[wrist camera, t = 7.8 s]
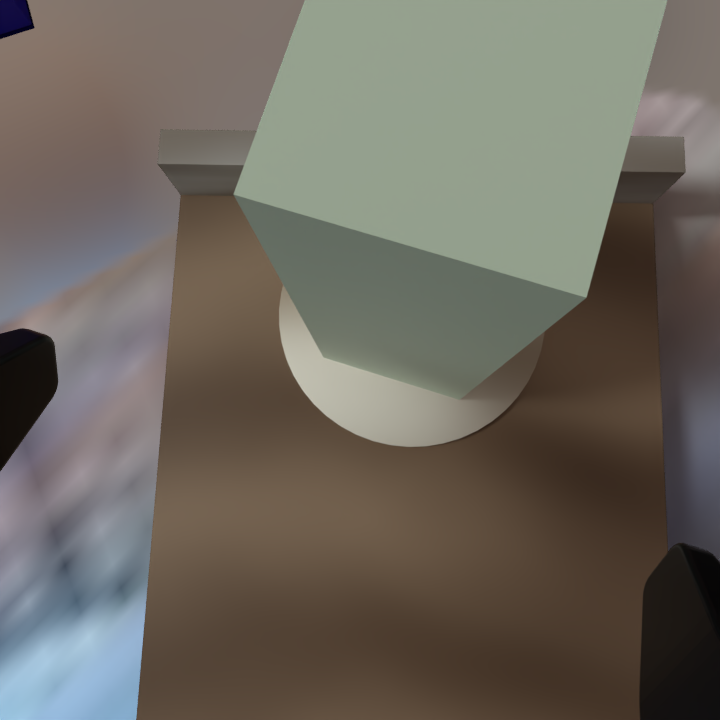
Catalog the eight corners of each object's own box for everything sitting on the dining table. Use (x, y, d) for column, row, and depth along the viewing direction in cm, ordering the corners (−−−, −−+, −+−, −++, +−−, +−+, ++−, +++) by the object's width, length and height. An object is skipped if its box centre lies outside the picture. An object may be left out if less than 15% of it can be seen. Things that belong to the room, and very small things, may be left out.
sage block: (459, 399, 18) (586, 297, 7) (323, 357, 18) (233, 193, 7) (498, 267, 18) (673, -25, 7) (366, 229, 18) (344, -106, 8)
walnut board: (656, 740, 17) (718, 803, 14) (151, 715, 18) (102, 769, 15) (635, 188, 20) (683, 136, 17) (194, 181, 20) (160, 129, 17)
